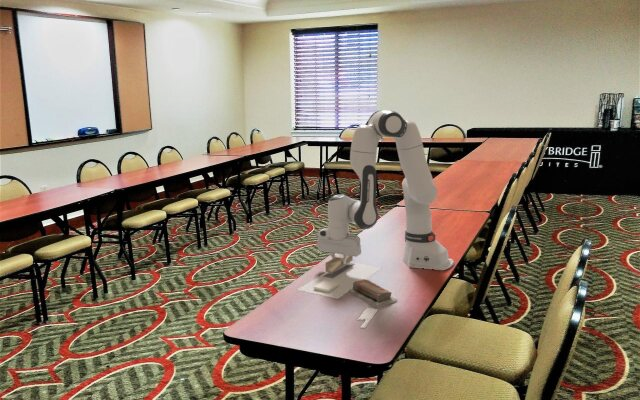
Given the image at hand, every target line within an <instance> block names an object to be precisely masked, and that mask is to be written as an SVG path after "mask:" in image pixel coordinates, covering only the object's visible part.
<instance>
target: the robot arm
mask: <svg viewBox="0 0 640 400" xmlns="http://www.w3.org/2000/svg"><path fill="white" fill-rule="evenodd" d="M384 137H385V138H393V139H394V142H395V145H396V150H397V156H398V159H399V164H400V168H401V170H402V172H403V175H404V178H403V180H402V183H401V187H402V192H403V201H404V207H405V215H406V216H405V218H406V219H405V222H406V223H405V227H406V229H405V233H404V240H405V248H404V254H403V257H402V262H403V263H404V264H406V265H407V267H409V268H415V269H422V268H424V270H432V269H434V270H435V271H444V270H445V271H446V270H448V269H450V268H451V267H452V266H454V260H453V259H452V258H449V252H448V249H447V248H446V247H444V245H442V244H441V243H440V242H439V241H438V240H436V237H437V232H435V233H434V231H432V211H431V208H430V204H431V203H433V202H435V200H436V199H437V198H438V189H437V188H438V187H436V184H435V181H434V178H433V175H432V173H431V169H430V168H429V166H428V162H427V157H426V154H425V148H424V144H423V140H422V136H421V133H420V131H419V127H418V126H417V123H415V122H414V121H412V120H405V119H404V118H403V116H402V115H401V114H399V112H397V111H394V110H390V109H389V110H388V109H384V110H378V111H375V112H373V113H372V114H371V115H370V117H369V118H368V120H367V121H366V123H365V124H362V125H359V126H357V127H356V128H355V130H354V133H353V135H352V140H351V145H350V151H349V154H350V155H349V161H350V162H349V163H350V166H351V168H352V170H353V171H354V172H355V174H356V175H357V176H358V178H359V181H360V200H359V199H354V198H351V197H349V196H347V195H346V194H343V193H340V194H339V193H338V194H334V195H332V196H331V197H330V198H329V199H328V202H327V203H328V204H327V218H328V223H327V226H328V227H325V228H322V229H320V230H318V232H317V235H318V237H317V241H316V242H317V250H318V251H320V252H325V253H326V252H327V253H329V255H330V257H331V258H332V259H334V258H335V257H336V254H338V255H341V254H343V257H344V259H343V260H341V263H342V264H346V259H347V258H348V255H349V256H353V257H355V258H356V257H359V256H360V255H361V254H362V247H361V237H359V235H358V234H353V233H350V223H353V224H355V225H356V226H358V227H359V228H360V229H363V230H369V229H371V228H373V227H374V226H375V225H376V224H377V222H378V220H379V211H378V208H377V168H376V166H377V154H378V153H377V152H378V145H379V142H380V140H381V139H382V138H384ZM332 259H331V260H332ZM434 270H433V271H434Z"/></svg>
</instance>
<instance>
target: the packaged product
mask: <svg viewBox="0 0 640 400" xmlns="http://www.w3.org/2000/svg"><path fill="white" fill-rule="evenodd" d="M348 292H349V293H351V294H352V295H355V296H356V297H357V298H359V299H361V300H363V301H364V302H365V303H366V304H368V305H370V306H372V307H373V308H375V309H377V308H378V309H379V308H380V307H384V306H388V305H390V304H394V303H397V302H398V299H397V298H395V297H393V296H392V292H391V291H389V290H388V289H386V288H383V287H381V286H380V285H377V284H376V283H373V282H372V281H371V280H368V279H363V280H359V281H356V282H353V289H350V290H349V291H348Z"/></svg>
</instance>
